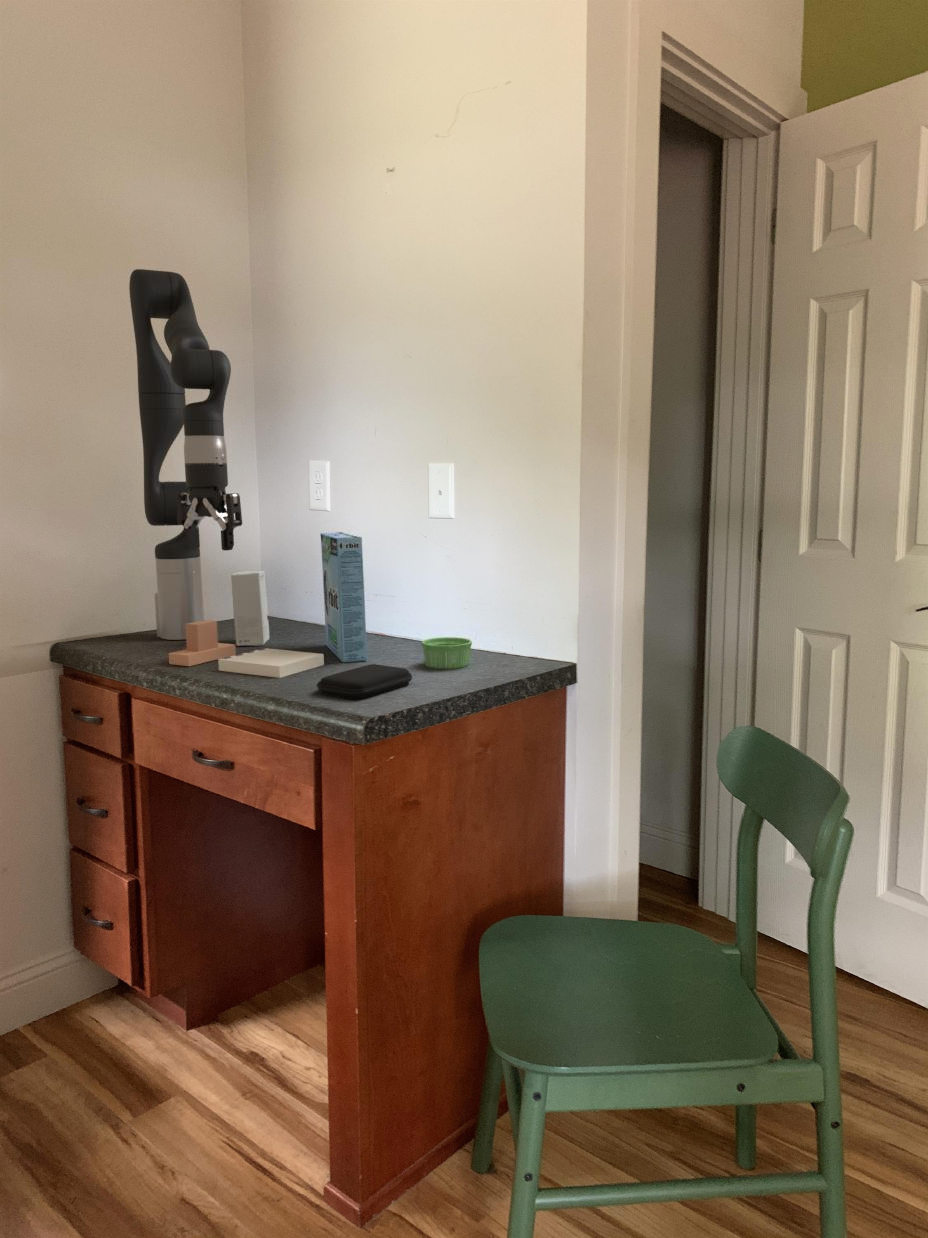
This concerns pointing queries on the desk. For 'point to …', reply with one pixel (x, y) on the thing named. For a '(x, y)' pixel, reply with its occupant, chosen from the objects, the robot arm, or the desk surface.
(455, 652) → the ramekin
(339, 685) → the carrying case or bag
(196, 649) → the stub
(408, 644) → the desk surface
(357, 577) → the gum box
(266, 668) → the plate
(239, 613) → the skincare box
